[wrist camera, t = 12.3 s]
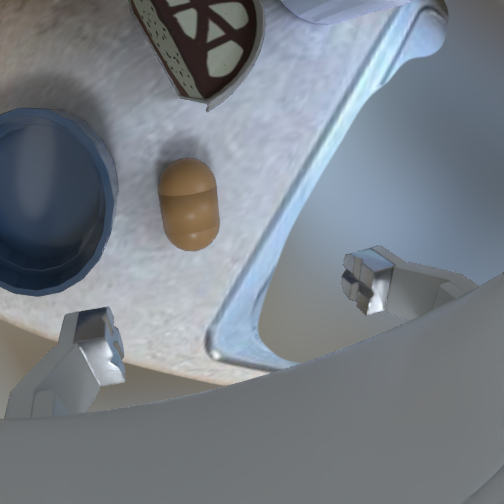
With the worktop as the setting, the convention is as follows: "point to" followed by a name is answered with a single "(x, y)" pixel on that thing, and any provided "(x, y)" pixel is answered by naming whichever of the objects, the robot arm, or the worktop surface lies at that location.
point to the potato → (189, 204)
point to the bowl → (52, 200)
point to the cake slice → (203, 43)
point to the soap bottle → (337, 9)
